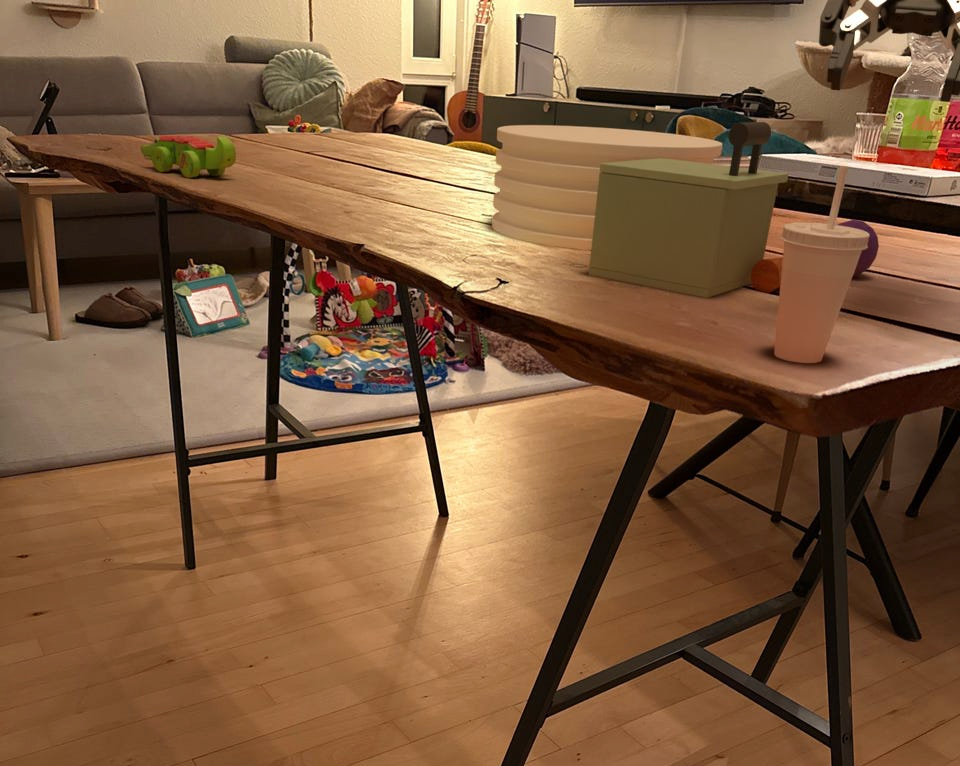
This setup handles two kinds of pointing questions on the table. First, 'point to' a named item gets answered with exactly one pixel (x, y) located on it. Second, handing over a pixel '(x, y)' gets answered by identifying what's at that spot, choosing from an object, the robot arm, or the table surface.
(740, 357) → the table surface
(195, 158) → the toy crocodile
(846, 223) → the kendama
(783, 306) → the smoothie
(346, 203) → the table surface
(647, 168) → the compartment lid
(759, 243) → the compartment
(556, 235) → the plate stack
